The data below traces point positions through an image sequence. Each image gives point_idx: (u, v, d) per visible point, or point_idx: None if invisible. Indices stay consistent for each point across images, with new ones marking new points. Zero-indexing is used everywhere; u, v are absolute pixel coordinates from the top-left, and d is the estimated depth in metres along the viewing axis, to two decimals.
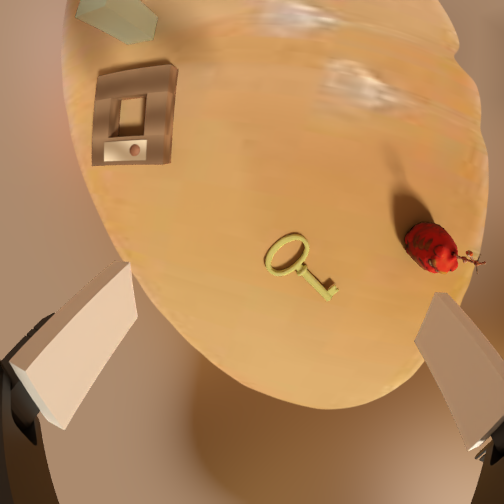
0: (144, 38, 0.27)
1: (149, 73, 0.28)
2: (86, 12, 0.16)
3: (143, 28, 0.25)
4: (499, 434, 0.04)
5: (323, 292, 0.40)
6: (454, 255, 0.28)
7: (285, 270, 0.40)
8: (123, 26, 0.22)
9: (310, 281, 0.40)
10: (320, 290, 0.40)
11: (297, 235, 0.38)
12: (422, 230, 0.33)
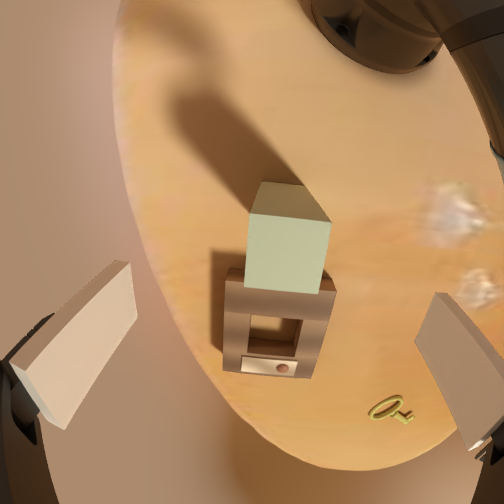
0: None
1: (308, 297, 0.29)
2: (273, 288, 0.16)
3: None
4: (499, 434, 0.04)
5: (404, 421, 0.40)
6: None
7: (382, 416, 0.40)
8: None
9: (398, 418, 0.40)
10: (403, 421, 0.40)
11: (397, 397, 0.38)
12: None
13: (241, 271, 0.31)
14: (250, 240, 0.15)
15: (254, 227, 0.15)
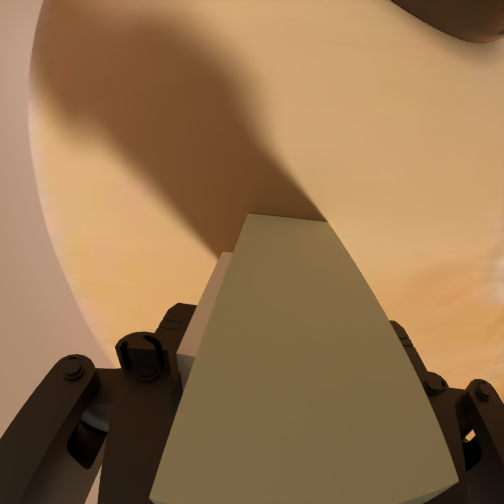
0: None
1: None
2: None
3: None
4: None
5: None
6: None
7: None
8: None
9: None
10: None
11: None
12: None
13: None
14: None
15: None
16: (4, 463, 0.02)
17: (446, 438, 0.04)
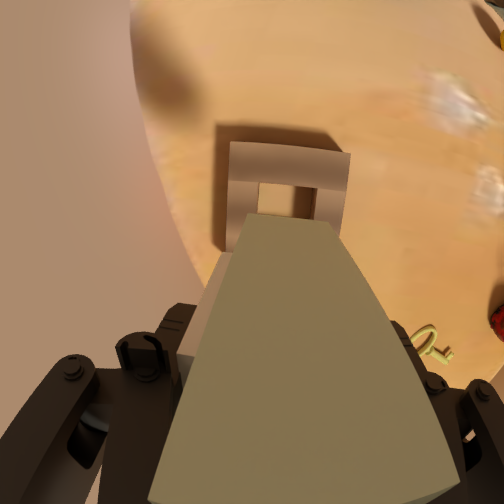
0: None
1: (320, 159, 0.25)
2: None
3: None
4: None
5: (443, 360, 0.36)
6: None
7: None
8: None
9: (435, 356, 0.36)
10: (442, 360, 0.36)
11: (429, 327, 0.35)
12: None
13: None
14: None
15: None
16: (4, 463, 0.02)
17: (446, 438, 0.04)
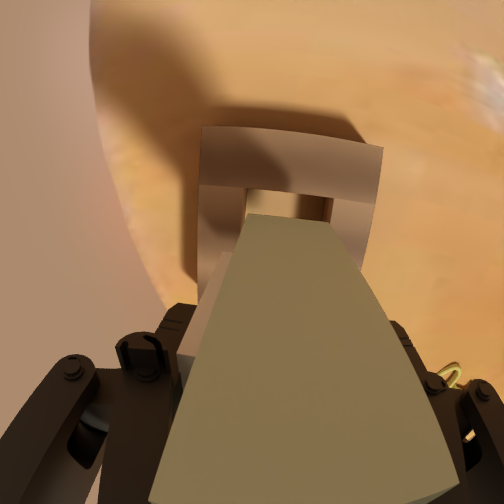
0: None
1: (340, 154, 0.16)
2: None
3: None
4: None
5: None
6: None
7: None
8: None
9: None
10: None
11: (453, 366, 0.26)
12: None
13: None
14: None
15: None
16: (4, 463, 0.02)
17: (446, 438, 0.04)
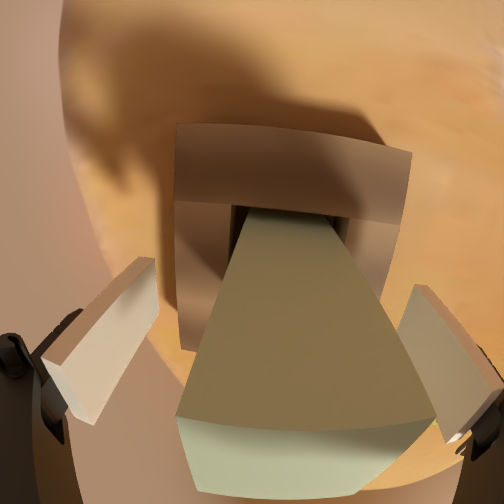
0: None
1: (358, 160, 0.12)
2: (260, 498, 0.05)
3: None
4: (479, 429, 0.05)
5: None
6: None
7: None
8: None
9: None
10: None
11: None
12: None
13: None
14: (193, 455, 0.04)
15: (197, 440, 0.04)
16: None
17: None
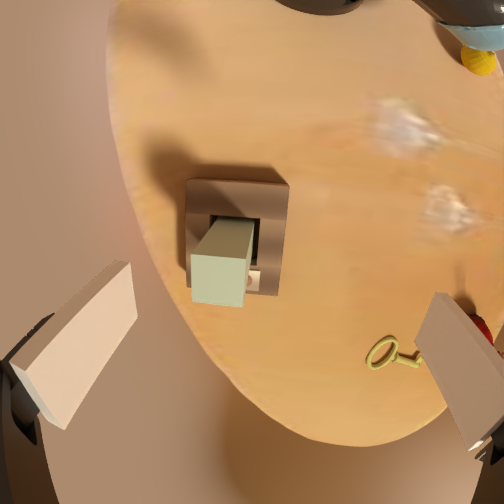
0: None
1: (262, 193, 0.31)
2: (211, 303, 0.23)
3: None
4: (499, 434, 0.04)
5: (413, 364, 0.41)
6: None
7: (382, 363, 0.42)
8: None
9: (402, 362, 0.41)
10: (411, 364, 0.41)
11: (387, 338, 0.40)
12: None
13: (203, 178, 0.33)
14: (192, 271, 0.22)
15: (194, 263, 0.22)
16: None
17: None
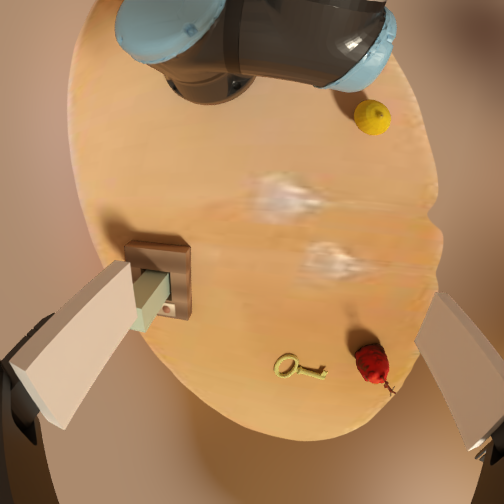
0: None
1: (169, 256, 0.45)
2: (130, 328, 0.38)
3: (166, 295, 0.48)
4: (499, 434, 0.04)
5: (318, 376, 0.56)
6: (381, 378, 0.45)
7: (288, 373, 0.57)
8: None
9: (307, 374, 0.56)
10: (315, 376, 0.56)
11: (286, 356, 0.55)
12: (364, 356, 0.50)
13: (137, 241, 0.48)
14: None
15: None
16: None
17: None
